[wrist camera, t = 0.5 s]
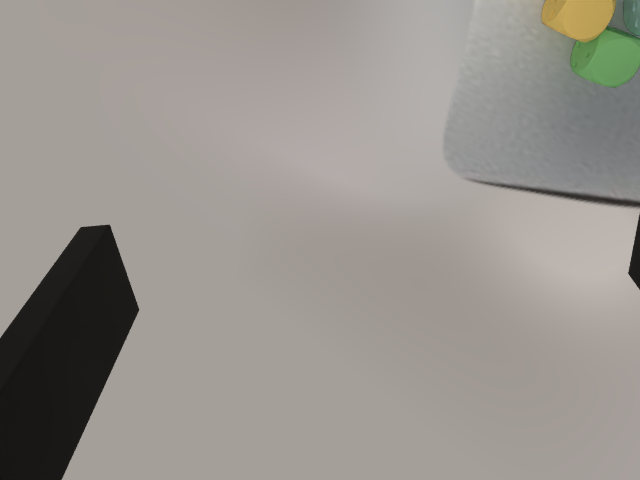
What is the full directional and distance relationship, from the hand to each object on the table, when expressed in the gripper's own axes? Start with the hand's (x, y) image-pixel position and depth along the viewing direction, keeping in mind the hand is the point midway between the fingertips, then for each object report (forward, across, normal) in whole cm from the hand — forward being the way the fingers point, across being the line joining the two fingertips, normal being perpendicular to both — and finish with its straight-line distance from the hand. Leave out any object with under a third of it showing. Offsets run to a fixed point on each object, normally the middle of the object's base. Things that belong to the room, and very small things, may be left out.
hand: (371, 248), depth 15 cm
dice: (+18, +16, +1) cm, 24 cm away
